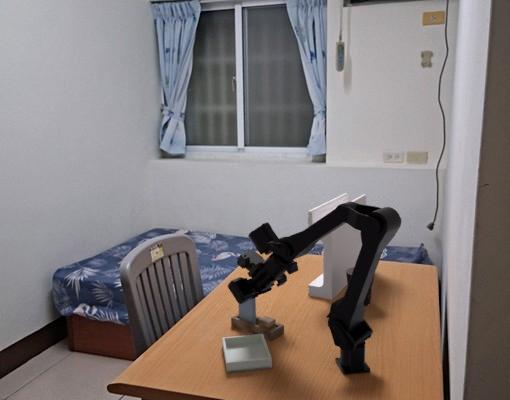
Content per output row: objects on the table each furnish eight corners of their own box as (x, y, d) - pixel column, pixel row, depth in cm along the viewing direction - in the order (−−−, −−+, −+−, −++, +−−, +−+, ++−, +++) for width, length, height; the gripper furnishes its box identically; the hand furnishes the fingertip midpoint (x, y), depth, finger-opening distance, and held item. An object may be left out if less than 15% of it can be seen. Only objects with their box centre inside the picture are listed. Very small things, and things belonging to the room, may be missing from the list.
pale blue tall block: (256, 324, 131) (255, 290, 130) (252, 326, 130) (251, 292, 128) (242, 319, 135) (241, 286, 133) (239, 321, 133) (238, 288, 132)
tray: (272, 368, 111) (271, 358, 110) (226, 372, 109) (226, 363, 109) (263, 342, 123) (262, 333, 123) (222, 346, 122) (222, 337, 121)
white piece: (331, 299, 150) (332, 213, 144) (308, 295, 154) (307, 211, 148) (364, 267, 179) (366, 194, 174) (344, 264, 183) (345, 193, 178)
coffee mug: (353, 294, 153) (354, 265, 151) (378, 301, 148) (379, 270, 146) (335, 306, 144) (335, 275, 142) (361, 313, 139) (362, 281, 137)
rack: (284, 333, 127) (284, 325, 127) (271, 341, 124) (271, 332, 123) (244, 319, 137) (244, 311, 137) (231, 325, 133) (231, 317, 133)
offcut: (275, 326, 127) (275, 319, 127) (269, 330, 125) (269, 322, 125) (265, 323, 130) (265, 315, 129) (258, 326, 128) (258, 319, 127)
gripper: (278, 235, 132) (249, 265, 141) (231, 251, 119) (203, 283, 128) (301, 268, 129) (270, 296, 138) (256, 288, 115) (225, 318, 124)
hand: (243, 297), depth 132 cm, fingers closed on pale blue tall block, 2 cm apart
